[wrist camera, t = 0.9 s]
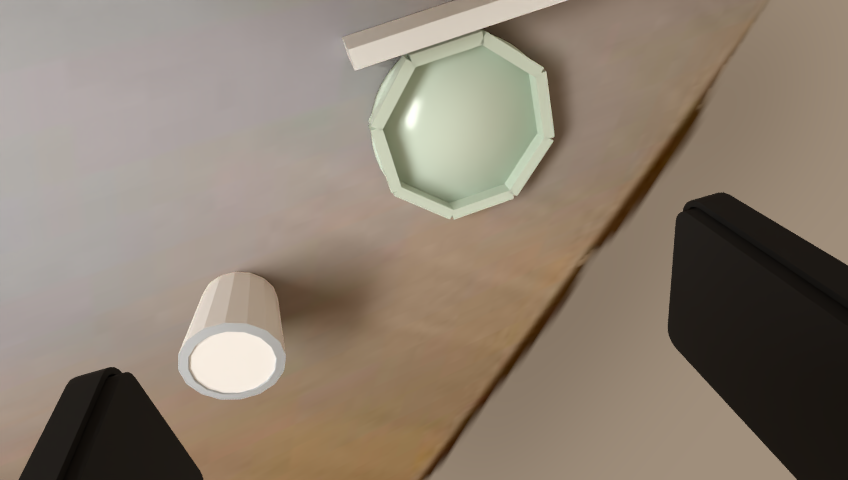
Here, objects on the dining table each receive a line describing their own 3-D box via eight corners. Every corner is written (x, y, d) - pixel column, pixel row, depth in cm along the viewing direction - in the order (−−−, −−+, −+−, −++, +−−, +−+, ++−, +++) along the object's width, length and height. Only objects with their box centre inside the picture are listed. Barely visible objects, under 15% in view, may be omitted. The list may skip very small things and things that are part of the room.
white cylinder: (297, 276, 41) (299, 334, 35) (272, 342, 44) (269, 407, 38) (204, 255, 38) (190, 314, 32) (183, 327, 41) (166, 394, 35)
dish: (344, 66, 34) (347, 72, 32) (530, 4, 34) (541, 8, 33) (399, 227, 41) (404, 239, 39) (553, 174, 41) (563, 183, 40)
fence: (341, 37, 33) (348, 49, 30) (607, -50, 34) (642, -48, 30) (348, 56, 34) (354, 70, 30) (608, -30, 34) (643, -25, 31)
